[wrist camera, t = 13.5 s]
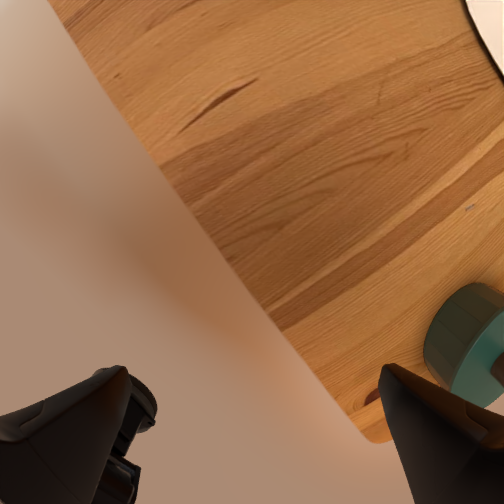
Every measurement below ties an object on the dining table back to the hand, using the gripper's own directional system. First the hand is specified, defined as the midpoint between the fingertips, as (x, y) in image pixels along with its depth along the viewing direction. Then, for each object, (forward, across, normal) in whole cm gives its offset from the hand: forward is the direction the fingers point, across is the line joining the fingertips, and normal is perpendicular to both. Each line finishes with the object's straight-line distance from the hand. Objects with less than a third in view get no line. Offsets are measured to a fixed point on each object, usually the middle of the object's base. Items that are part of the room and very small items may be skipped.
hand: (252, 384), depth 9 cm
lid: (+6, -20, +7) cm, 22 cm away
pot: (+12, -20, +7) cm, 24 cm away
